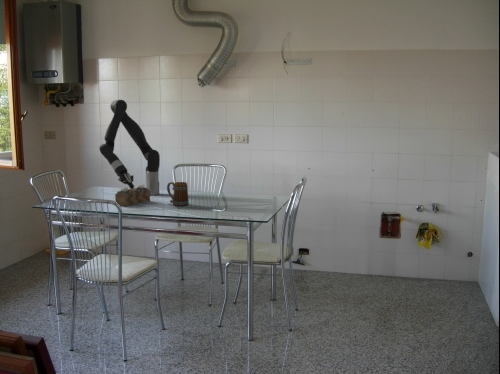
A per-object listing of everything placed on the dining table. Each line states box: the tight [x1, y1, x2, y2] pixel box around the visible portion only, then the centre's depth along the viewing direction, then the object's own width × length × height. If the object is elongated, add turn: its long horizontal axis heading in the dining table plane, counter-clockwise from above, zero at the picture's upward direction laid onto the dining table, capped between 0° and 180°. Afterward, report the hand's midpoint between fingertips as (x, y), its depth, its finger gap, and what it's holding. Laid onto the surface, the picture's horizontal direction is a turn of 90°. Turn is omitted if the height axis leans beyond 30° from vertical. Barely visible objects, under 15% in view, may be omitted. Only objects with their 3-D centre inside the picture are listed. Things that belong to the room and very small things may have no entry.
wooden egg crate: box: [114, 187, 151, 208], centre depth 333 cm, size 24×8×9 cm, turn 150°
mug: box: [166, 181, 190, 208], centre depth 330 cm, size 16×11×15 cm
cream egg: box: [137, 184, 146, 189], centre depth 339 cm, size 5×5×2 cm
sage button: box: [120, 187, 129, 192], centre depth 325 cm, size 5×5×2 cm
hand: (132, 187), depth 332 cm, fingers closed
